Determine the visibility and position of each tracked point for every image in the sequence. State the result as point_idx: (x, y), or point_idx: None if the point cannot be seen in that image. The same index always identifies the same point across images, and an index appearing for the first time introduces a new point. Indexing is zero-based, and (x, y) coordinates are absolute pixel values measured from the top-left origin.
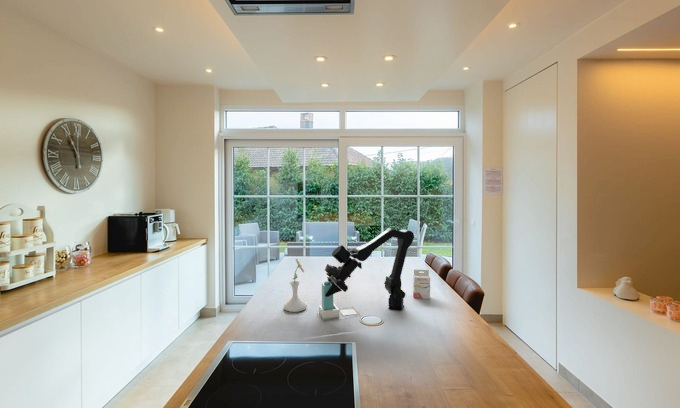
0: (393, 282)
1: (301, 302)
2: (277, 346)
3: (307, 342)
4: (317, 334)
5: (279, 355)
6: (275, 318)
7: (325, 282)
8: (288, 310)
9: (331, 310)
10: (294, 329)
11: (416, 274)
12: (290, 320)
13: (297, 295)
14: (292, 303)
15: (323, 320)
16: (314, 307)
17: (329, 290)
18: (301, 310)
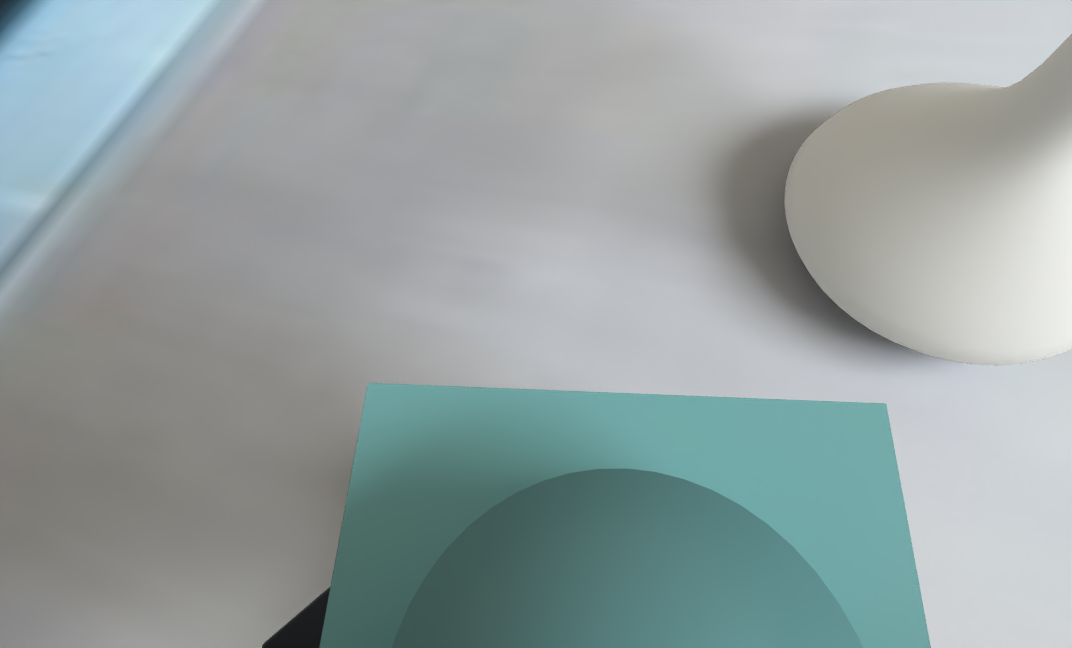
0: None
1: (937, 242)
2: (151, 24)
3: (63, 211)
4: (147, 324)
5: (25, 26)
6: (699, 45)
7: (590, 542)
8: (815, 130)
9: None
10: (371, 157)
11: None
12: (602, 153)
13: (1068, 129)
14: (894, 122)
15: None
16: (999, 503)
17: (268, 641)
18: (809, 272)
